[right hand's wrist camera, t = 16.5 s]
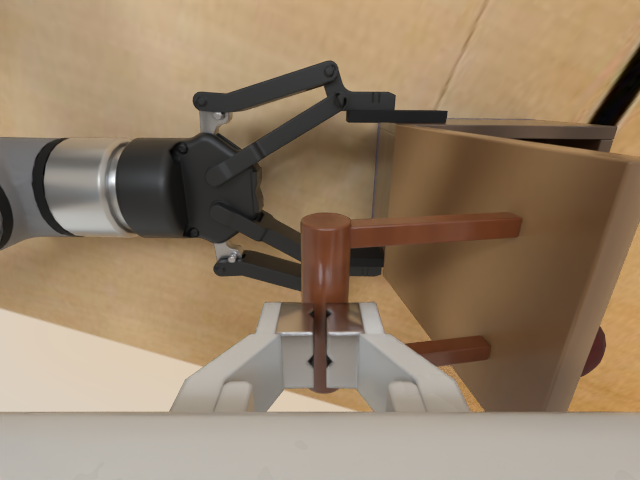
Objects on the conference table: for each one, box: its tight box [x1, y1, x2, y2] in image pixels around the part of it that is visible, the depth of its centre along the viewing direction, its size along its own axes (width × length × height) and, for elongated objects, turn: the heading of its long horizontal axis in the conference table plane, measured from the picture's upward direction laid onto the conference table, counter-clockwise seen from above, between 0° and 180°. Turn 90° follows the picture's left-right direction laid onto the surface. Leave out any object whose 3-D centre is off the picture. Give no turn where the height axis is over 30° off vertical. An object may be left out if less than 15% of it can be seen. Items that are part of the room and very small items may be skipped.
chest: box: [372, 118, 617, 259], centre depth 27 cm, size 13×10×10 cm
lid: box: [301, 125, 640, 412], centre depth 15 cm, size 14×10×8 cm
